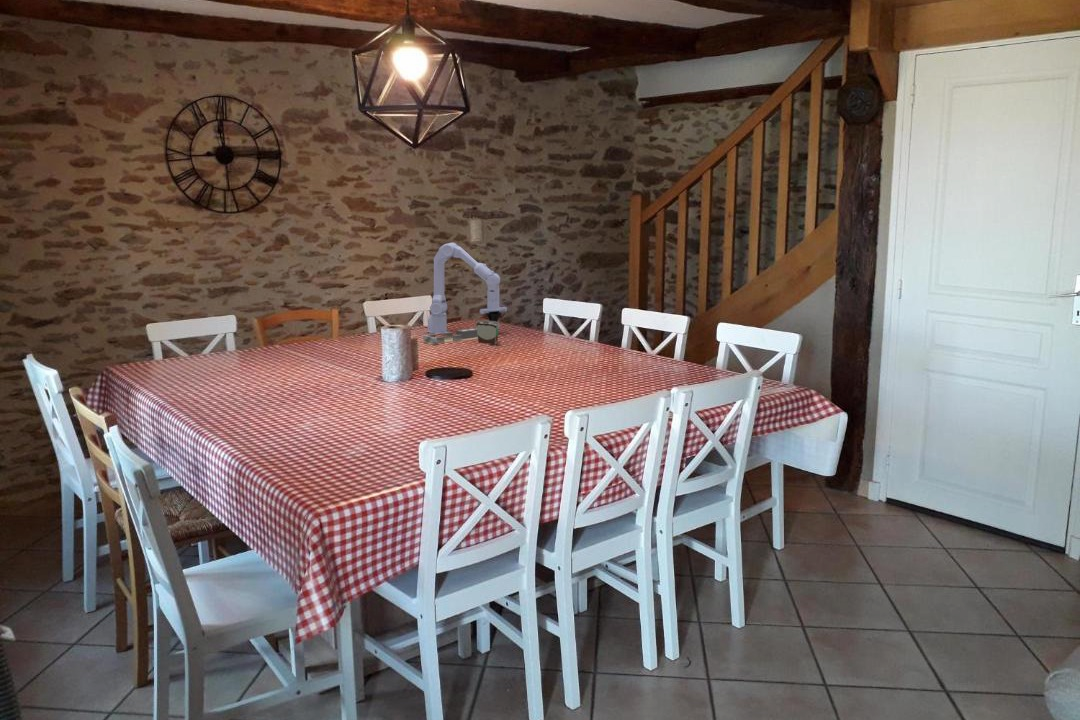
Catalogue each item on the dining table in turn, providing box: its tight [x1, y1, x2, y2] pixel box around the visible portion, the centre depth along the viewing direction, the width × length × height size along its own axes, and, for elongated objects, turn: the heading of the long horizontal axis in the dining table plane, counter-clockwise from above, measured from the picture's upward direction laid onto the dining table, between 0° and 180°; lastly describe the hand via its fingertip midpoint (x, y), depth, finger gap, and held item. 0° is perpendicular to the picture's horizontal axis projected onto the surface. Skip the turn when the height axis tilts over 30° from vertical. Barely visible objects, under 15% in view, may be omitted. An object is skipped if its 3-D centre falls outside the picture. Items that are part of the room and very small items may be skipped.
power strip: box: [456, 327, 478, 339], centre depth 393 cm, size 4×14×4 cm, turn 129°
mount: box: [420, 331, 478, 346], centre depth 388 cm, size 10×33×3 cm, turn 129°
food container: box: [475, 320, 501, 347], centre depth 380 cm, size 12×6×10 cm, turn 58°
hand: (493, 327), depth 400 cm, fingers closed
